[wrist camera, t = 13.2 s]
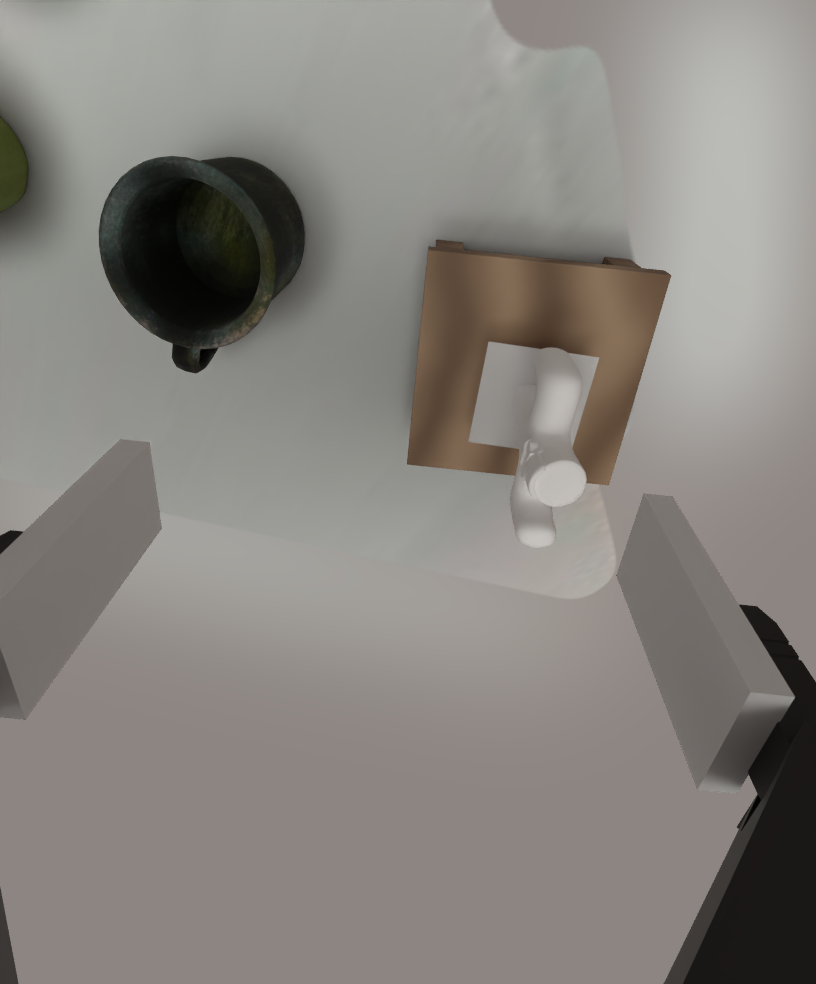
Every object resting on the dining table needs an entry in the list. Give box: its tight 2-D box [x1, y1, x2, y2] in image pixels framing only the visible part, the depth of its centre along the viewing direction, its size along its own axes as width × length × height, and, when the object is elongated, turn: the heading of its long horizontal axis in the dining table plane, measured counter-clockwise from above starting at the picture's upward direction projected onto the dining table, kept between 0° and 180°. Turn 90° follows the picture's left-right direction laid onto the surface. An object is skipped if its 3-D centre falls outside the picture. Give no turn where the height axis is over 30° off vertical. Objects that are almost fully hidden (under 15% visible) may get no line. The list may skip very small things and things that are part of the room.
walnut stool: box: [407, 240, 671, 485], centre depth 48 cm, size 16×16×8 cm
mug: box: [99, 156, 304, 373], centre depth 44 cm, size 11×15×12 cm
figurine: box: [468, 341, 599, 548], centre depth 38 cm, size 7×9×15 cm
